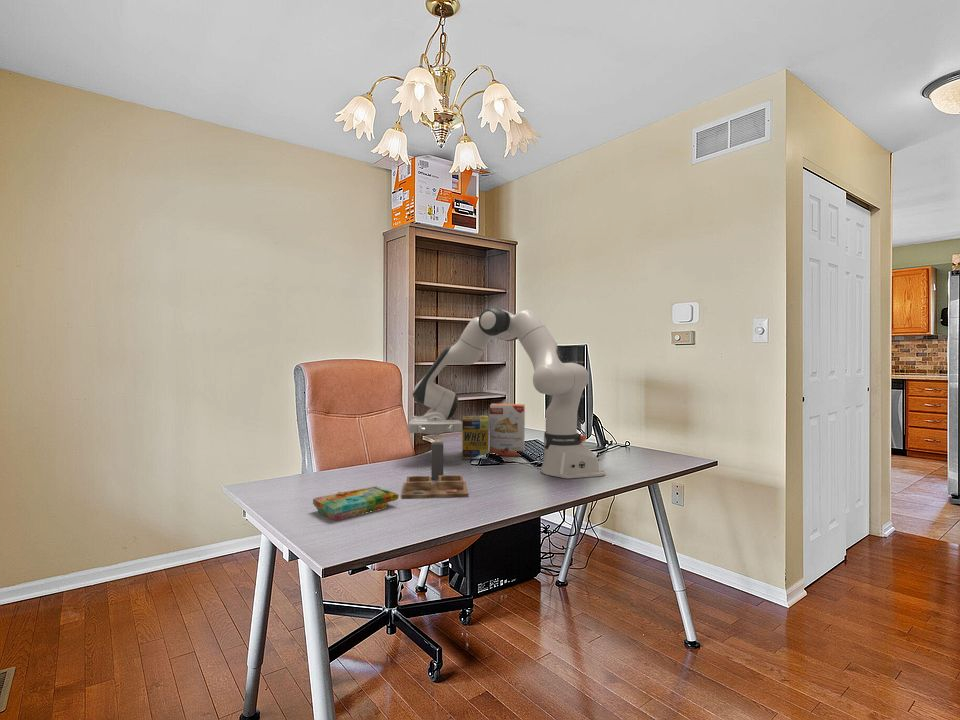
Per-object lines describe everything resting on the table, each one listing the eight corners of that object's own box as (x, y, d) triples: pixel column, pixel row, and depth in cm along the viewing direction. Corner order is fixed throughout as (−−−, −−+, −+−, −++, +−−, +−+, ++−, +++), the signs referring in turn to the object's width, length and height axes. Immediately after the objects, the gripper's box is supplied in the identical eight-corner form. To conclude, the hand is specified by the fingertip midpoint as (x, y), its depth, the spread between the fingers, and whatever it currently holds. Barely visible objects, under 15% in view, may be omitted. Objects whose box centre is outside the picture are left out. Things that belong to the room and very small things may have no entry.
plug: (443, 476, 185) (443, 439, 185) (443, 479, 182) (443, 441, 181) (431, 476, 185) (431, 439, 185) (431, 479, 181) (431, 441, 181)
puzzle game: (313, 496, 147) (376, 483, 160) (313, 513, 147) (376, 498, 160) (333, 505, 138) (398, 491, 152) (333, 523, 138) (398, 507, 152)
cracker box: (489, 455, 218) (489, 404, 217) (491, 452, 224) (491, 402, 223) (523, 457, 216) (523, 405, 215) (524, 454, 222) (525, 403, 221)
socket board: (465, 484, 175) (465, 473, 175) (468, 496, 161) (468, 485, 161) (403, 485, 173) (403, 474, 173) (401, 498, 159) (401, 486, 159)
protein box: (462, 459, 211) (462, 420, 210) (463, 451, 226) (463, 415, 226) (488, 459, 211) (488, 420, 210) (487, 451, 226) (488, 415, 226)
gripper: (461, 431, 210) (464, 438, 196) (409, 432, 208) (408, 439, 194) (461, 415, 210) (464, 421, 196) (409, 416, 208) (408, 422, 194)
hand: (435, 430), depth 195 cm, fingers open, 8 cm apart
